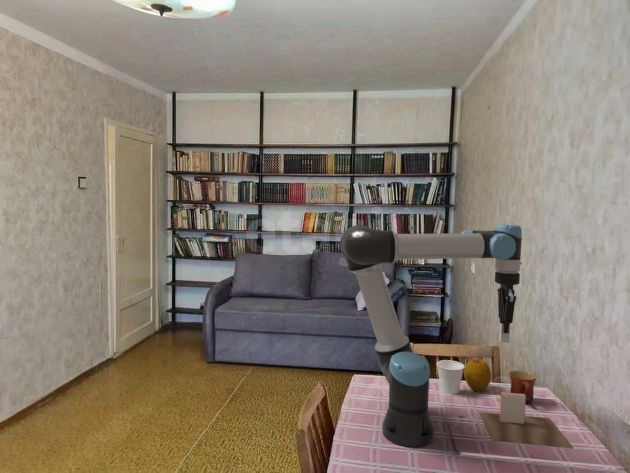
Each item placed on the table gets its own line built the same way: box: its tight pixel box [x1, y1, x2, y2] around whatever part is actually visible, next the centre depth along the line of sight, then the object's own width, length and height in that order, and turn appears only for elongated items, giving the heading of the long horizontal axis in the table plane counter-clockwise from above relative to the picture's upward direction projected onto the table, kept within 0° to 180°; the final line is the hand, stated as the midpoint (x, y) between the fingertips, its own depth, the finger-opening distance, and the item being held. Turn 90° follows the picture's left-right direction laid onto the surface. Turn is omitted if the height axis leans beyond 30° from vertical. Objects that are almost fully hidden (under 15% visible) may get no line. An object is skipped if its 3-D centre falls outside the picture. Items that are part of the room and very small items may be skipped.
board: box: [478, 411, 574, 449], centre depth 134 cm, size 22×18×1 cm
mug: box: [508, 369, 538, 406], centre depth 153 cm, size 12×9×10 cm
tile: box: [499, 391, 526, 424], centre depth 138 cm, size 7×2×9 cm, turn 81°
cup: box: [436, 359, 466, 395], centre depth 161 cm, size 10×10×11 cm
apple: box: [463, 358, 492, 392], centre depth 166 cm, size 10×10×12 cm
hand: (504, 341), depth 146 cm, fingers closed
